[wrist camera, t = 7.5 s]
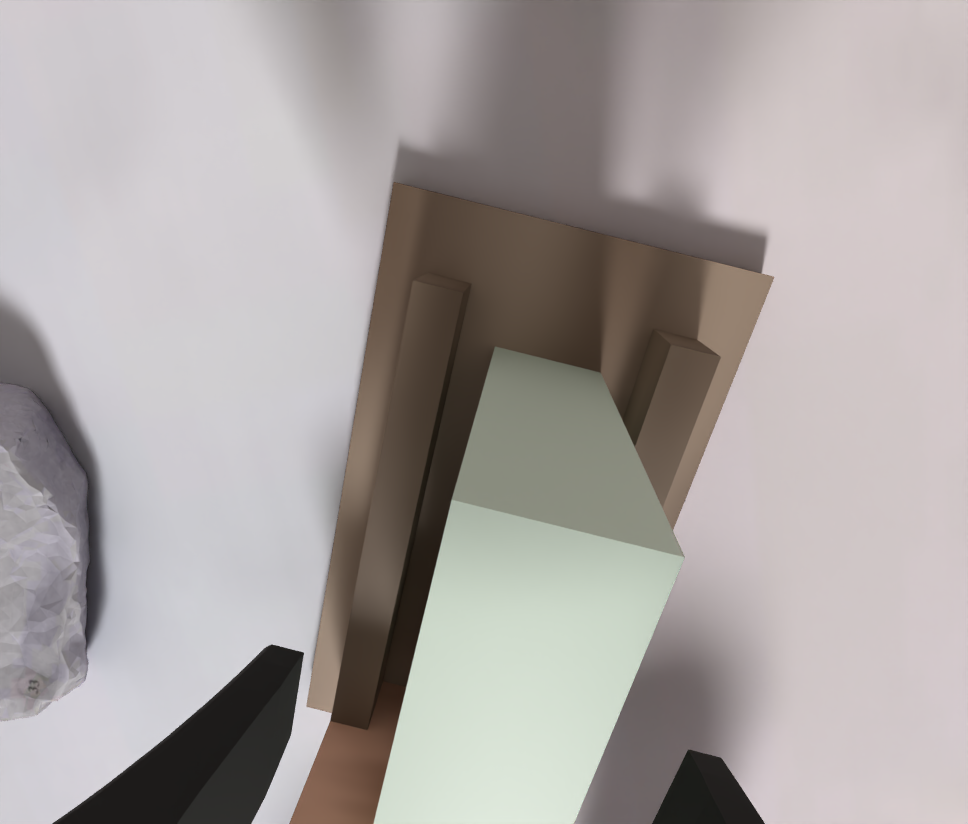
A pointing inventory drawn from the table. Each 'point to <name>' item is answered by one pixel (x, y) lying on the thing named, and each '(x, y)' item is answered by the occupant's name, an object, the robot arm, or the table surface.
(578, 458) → the book
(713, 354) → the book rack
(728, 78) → the table surface
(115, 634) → the table surface
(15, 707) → the stone block
